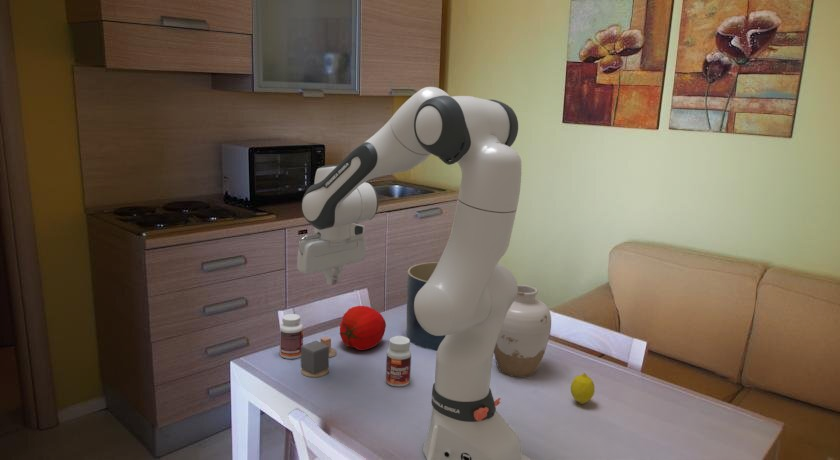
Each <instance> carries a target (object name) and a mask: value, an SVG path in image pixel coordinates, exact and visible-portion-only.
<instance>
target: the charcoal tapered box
mask: <svg viewBox="0 0 840 460" xmlns="http://www.w3.org/2000/svg"><path fill="white" fill-rule="evenodd" d="M329 359H330V358H329V346H327V345H325V344H323V343H321V342H320V341H318V340H314V341H311V342H309V343H305V344H303V346H301V356H300V368H301V369H302V368H303V369H305V370H307V371H309V372H311V373H313V374H315V373H317V372H320V371H322V370H324V369H327V368H328V369H330V367H329V365H330V363H329V361H330V360H329Z"/></svg>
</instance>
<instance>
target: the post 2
mask: <svg viewBox="0 0 840 460" xmlns="http://www.w3.org/2000/svg"><path fill="white" fill-rule="evenodd" d="M319 342H321V343H323V344H325V345H327V346H329V359H332V358H334V357H336V355H337V350H336V349H335V348H333V347H332V337H328V336H324V337H322V338H321V337H320V341H319Z"/></svg>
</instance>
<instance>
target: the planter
mask: <svg viewBox="0 0 840 460" xmlns="http://www.w3.org/2000/svg"><path fill="white" fill-rule="evenodd" d="M438 262H439V261H430V262H422V263H416V264H414V265H411V266H410V267H409V268H408V269H407V273H406V274H407V277H406V278H407V280H406V281H407V282H406V329H405V330H406V331H405V332H406V333H405V334H406V337H407V338H409V340H410V343H412V344H415V345H417V346H419V347H421V348H424V349H427V350H435V351H437V350H438V347H439V345H440V343H441V342H442V341H443V339H444V338H445V336H446V335H443V336H435V335H432V334H430V333H428V332H426V331H425V330H424V329H423V328H422V327H421V325H420V324H419V322H418V320H417V318H416V316H415V311H414V300H415V297H416V294H417V293H418V291H419V290H420V289H421V288H422V287H423V286H424V285H425V284H426V282H427V281H428V280H429V278H430V277H431V275H432V274H433V272H434V270H435V268H436V266H437V264H438Z"/></svg>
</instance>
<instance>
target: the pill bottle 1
mask: <svg viewBox="0 0 840 460" xmlns="http://www.w3.org/2000/svg"><path fill="white" fill-rule="evenodd" d="M281 322H282V323H281V324H280V326H279V356H281V357H282V358H283V359H285V360H286V359H288V360H294V359H298V358H301V346H303V345H304V327H303V326H304V325H303V324H302V323H301V316H300V315H299V314H296V313H287V314H284V315H283V316H282V320H281Z"/></svg>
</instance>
